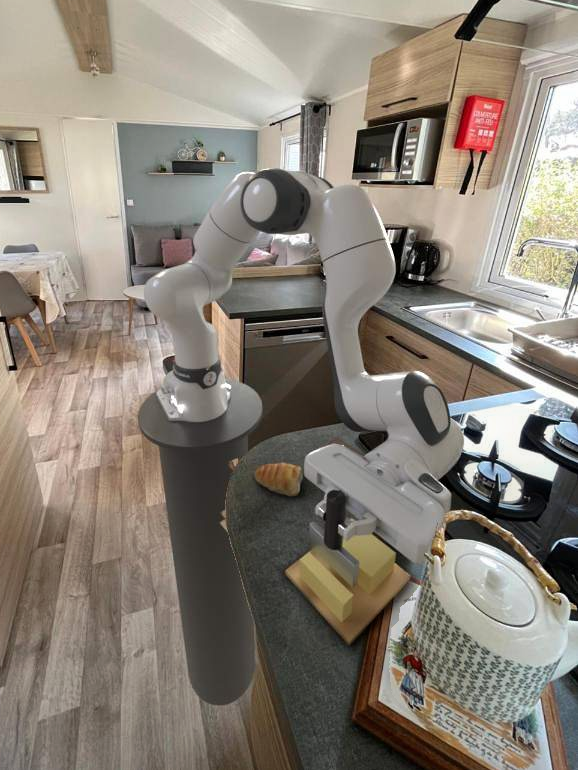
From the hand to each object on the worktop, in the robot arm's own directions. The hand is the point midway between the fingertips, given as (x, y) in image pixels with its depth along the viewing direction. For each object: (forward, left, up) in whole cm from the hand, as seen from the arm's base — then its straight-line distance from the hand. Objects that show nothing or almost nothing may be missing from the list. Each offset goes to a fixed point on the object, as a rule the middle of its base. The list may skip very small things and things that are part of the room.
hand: (330, 523), depth 50 cm
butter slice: (0, -1, -13) cm, 13 cm away
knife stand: (-14, +22, -13) cm, 30 cm away
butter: (0, +7, -13) cm, 15 cm away
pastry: (-20, +9, -14) cm, 26 cm away
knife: (0, +1, -8) cm, 8 cm away
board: (0, +4, -13) cm, 14 cm away
